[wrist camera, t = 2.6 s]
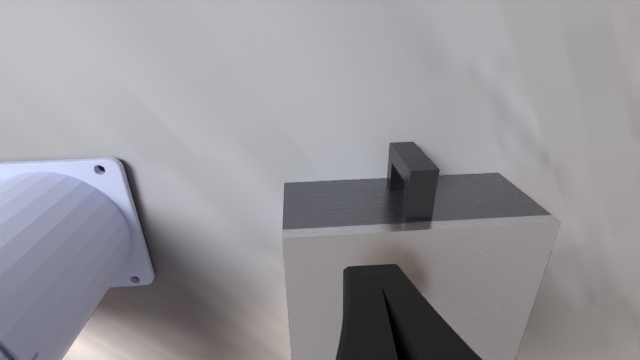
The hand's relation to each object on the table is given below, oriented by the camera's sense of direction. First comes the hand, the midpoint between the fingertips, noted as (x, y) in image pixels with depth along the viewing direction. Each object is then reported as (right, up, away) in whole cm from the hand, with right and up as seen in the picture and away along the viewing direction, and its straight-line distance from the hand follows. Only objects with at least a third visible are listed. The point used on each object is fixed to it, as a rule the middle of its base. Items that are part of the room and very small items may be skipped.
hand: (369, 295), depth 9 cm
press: (+3, -1, +12) cm, 13 cm away
